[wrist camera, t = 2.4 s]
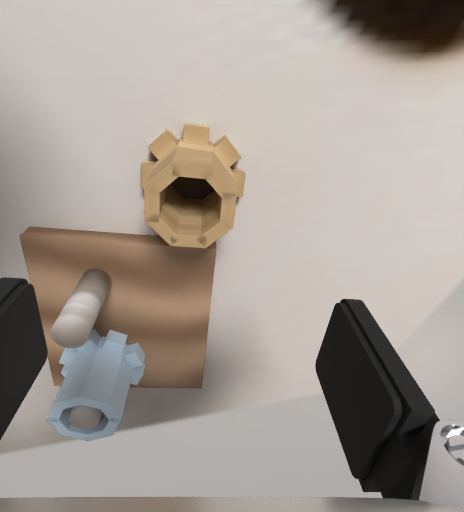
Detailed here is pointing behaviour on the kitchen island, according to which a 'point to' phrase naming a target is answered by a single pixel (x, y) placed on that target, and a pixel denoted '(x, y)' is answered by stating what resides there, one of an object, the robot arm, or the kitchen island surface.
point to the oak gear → (193, 166)
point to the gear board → (122, 301)
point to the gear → (97, 383)
